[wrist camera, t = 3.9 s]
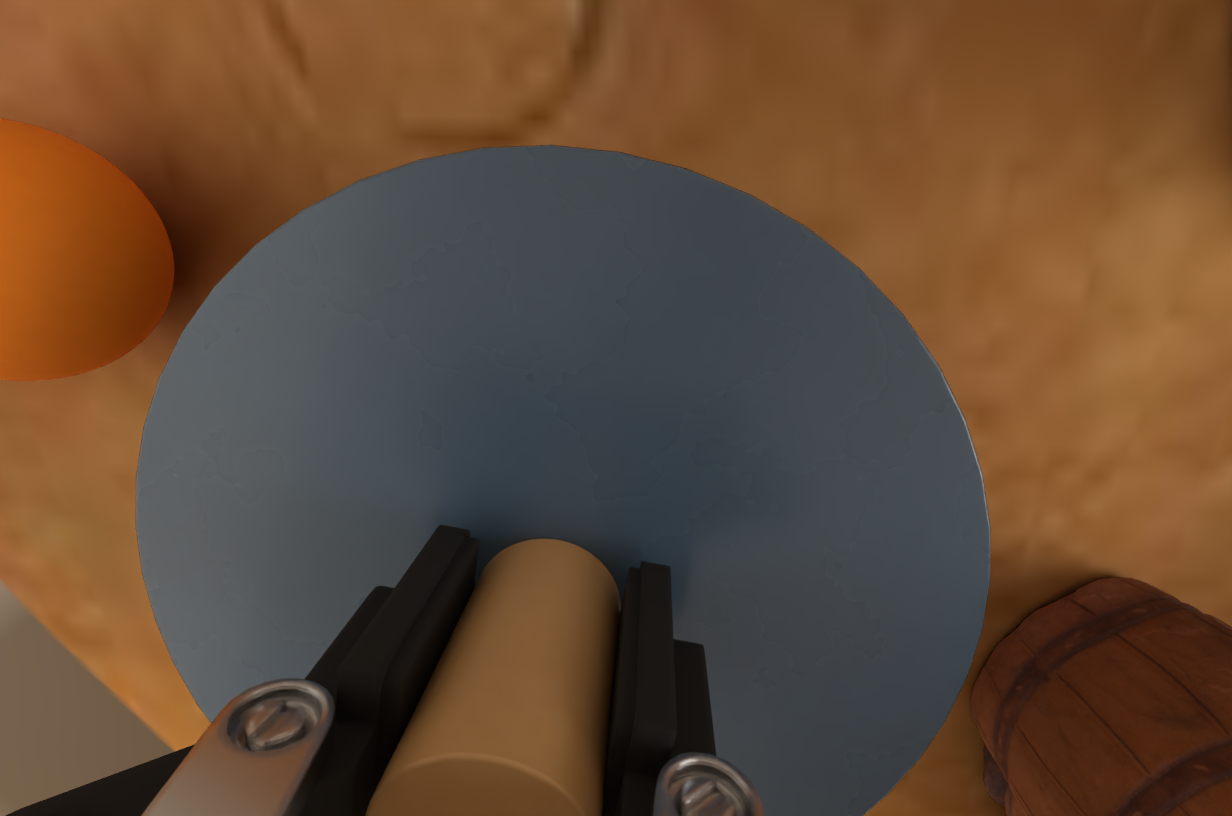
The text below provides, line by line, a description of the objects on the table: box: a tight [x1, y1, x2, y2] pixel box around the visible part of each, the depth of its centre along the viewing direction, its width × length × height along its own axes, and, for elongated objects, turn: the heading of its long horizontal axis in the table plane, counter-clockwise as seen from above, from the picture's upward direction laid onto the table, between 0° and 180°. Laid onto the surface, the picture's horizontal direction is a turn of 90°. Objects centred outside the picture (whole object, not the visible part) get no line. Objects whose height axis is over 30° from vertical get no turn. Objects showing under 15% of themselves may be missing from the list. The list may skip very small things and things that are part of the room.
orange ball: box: [0, 119, 174, 381], centre depth 15 cm, size 6×6×6 cm
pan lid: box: [136, 145, 990, 816], centre depth 10 cm, size 16×16×6 cm
